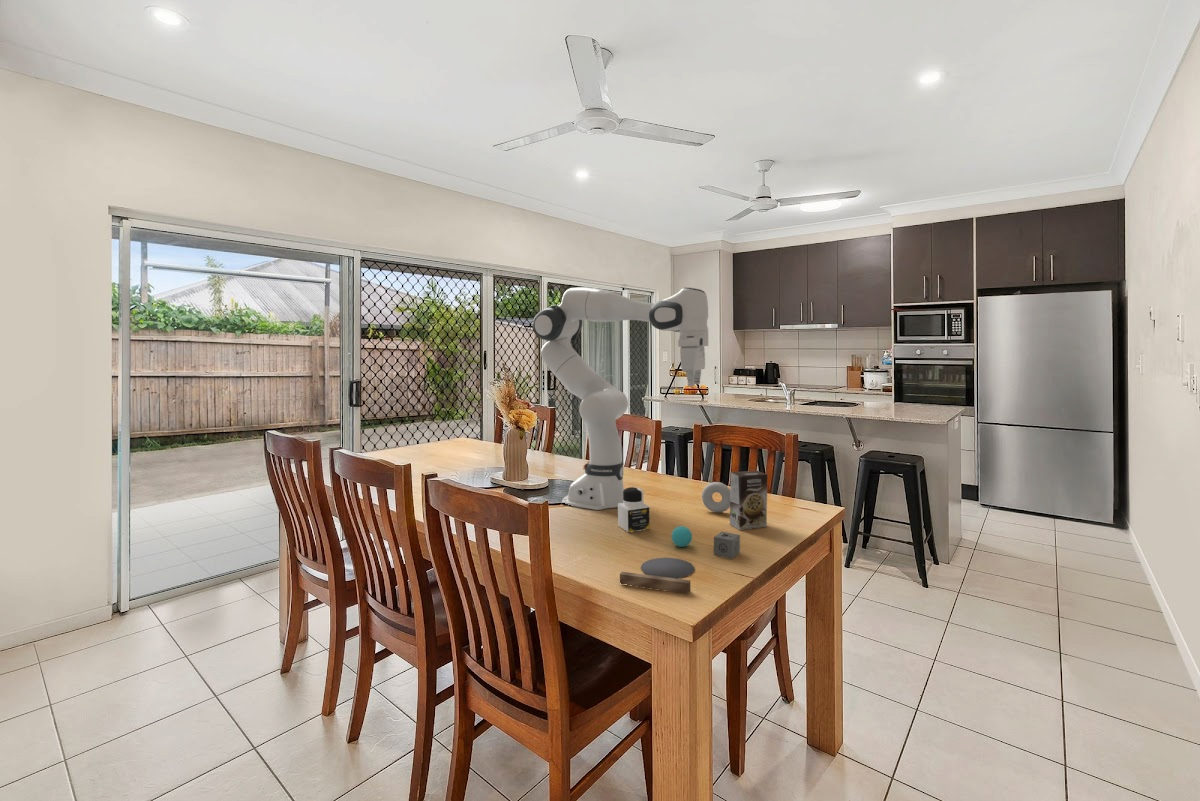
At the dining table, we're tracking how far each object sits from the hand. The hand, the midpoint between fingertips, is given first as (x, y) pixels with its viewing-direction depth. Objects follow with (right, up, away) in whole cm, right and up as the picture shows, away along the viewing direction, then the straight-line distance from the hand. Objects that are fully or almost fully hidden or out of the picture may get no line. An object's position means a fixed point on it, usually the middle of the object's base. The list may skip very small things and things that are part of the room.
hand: (694, 385), depth 181 cm
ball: (-7, -42, -24) cm, 49 cm away
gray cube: (+4, -45, -30) cm, 54 cm away
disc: (-13, -46, -39) cm, 61 cm away
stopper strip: (-17, -47, -50) cm, 71 cm away
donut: (+8, -41, +6) cm, 42 cm away
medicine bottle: (-19, -43, -8) cm, 48 cm away
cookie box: (+15, -42, -8) cm, 46 cm away
